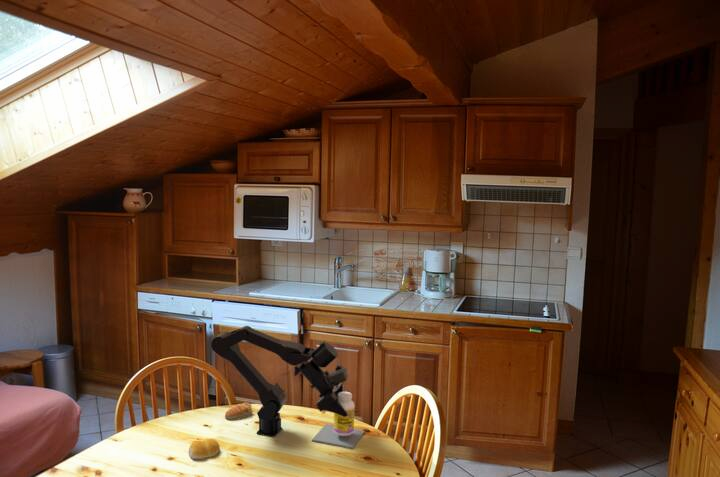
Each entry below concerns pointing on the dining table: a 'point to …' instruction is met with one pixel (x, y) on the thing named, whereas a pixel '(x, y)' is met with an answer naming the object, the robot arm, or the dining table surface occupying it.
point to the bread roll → (203, 449)
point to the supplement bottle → (346, 424)
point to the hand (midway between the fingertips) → (348, 411)
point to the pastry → (239, 411)
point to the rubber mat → (337, 437)
